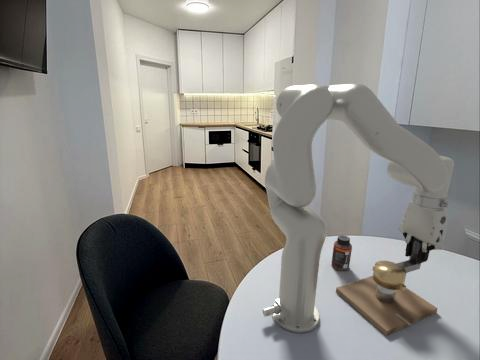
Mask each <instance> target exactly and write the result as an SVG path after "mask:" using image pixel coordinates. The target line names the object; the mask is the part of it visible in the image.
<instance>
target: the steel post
mask: <svg viewBox="0 0 480 360" xmlns="http://www.w3.org/2000/svg"><path fill="white" fill-rule="evenodd" d="M395 295H396V290H391V289H387V288H384V287H382V286H380V285H378V284H377V288H376V293H375V296H376V298H377V299H378V300H379V301H381V302H383V303H387V304H391V303H393V302H394V299H395Z"/></svg>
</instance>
